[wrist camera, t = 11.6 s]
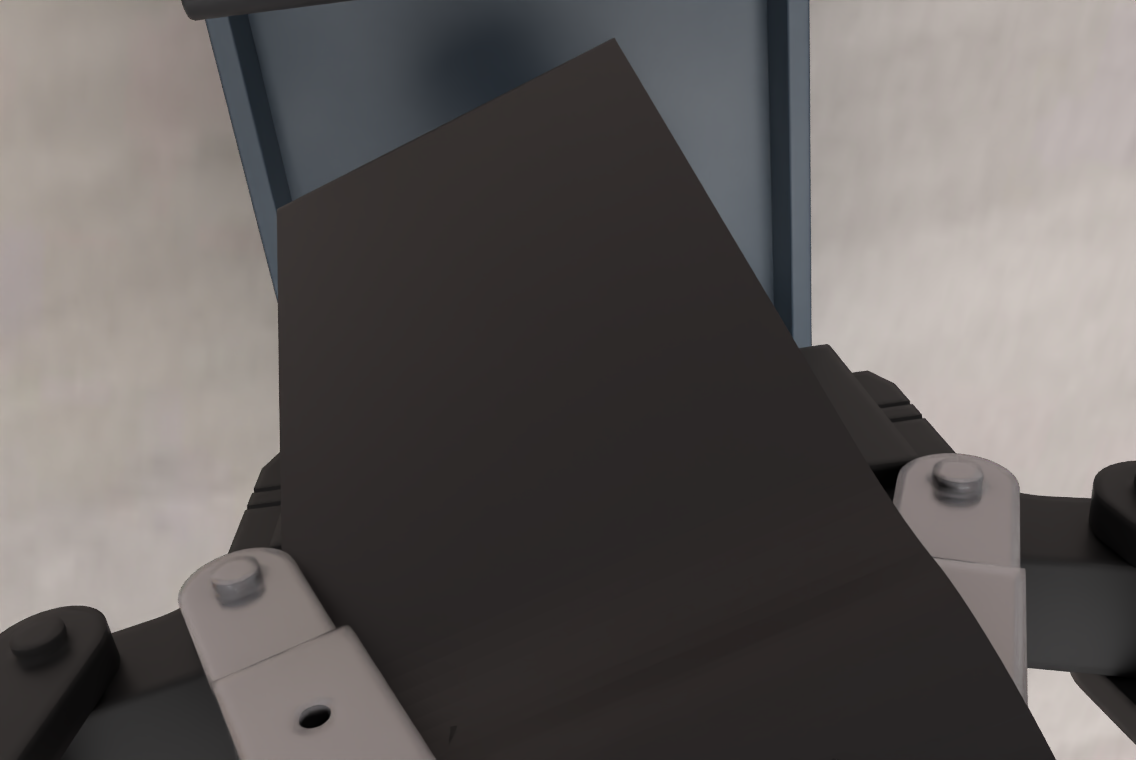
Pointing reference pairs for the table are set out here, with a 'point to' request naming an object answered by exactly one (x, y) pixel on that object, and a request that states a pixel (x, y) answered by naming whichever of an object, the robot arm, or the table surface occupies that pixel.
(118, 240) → the table surface
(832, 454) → the phone stand
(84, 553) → the table surface
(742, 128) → the drying rack
